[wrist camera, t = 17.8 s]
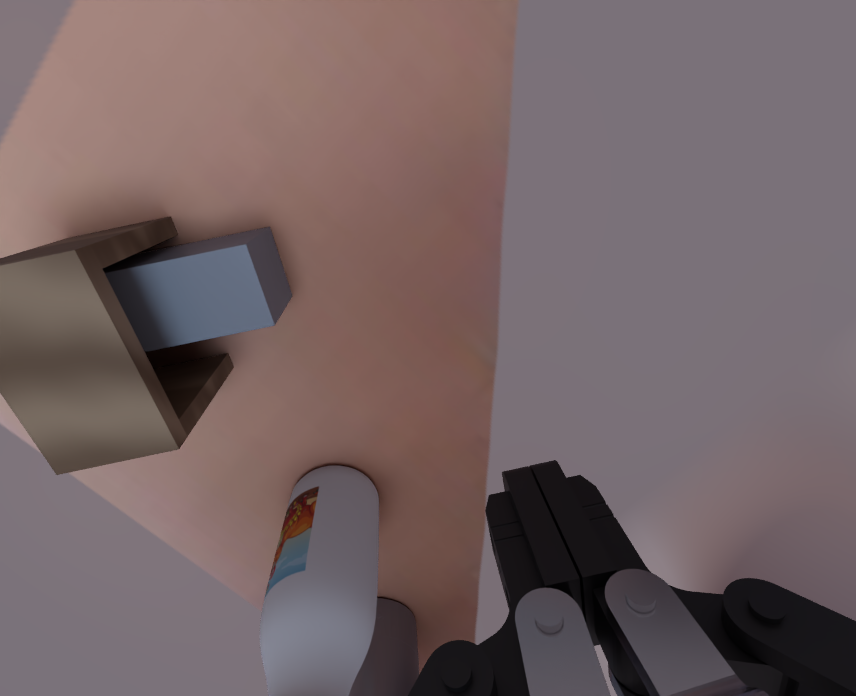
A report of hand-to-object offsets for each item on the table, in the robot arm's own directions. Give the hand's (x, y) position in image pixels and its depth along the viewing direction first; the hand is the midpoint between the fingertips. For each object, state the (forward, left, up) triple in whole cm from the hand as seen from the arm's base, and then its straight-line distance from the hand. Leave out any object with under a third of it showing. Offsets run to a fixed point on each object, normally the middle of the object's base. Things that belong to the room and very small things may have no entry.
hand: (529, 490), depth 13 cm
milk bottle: (-18, +13, -23) cm, 32 cm away
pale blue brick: (+3, +17, -23) cm, 28 cm away
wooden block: (+2, +20, -23) cm, 30 cm away
